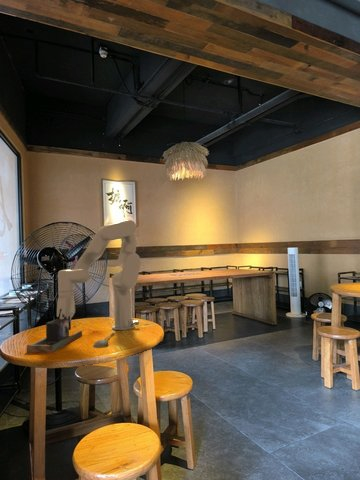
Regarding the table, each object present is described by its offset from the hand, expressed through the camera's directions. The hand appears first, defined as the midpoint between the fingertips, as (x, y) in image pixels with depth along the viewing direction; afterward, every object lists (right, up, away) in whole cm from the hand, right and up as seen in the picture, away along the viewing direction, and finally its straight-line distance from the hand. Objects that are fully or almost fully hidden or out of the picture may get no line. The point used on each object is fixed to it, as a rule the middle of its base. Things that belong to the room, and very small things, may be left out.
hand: (67, 330), depth 163 cm
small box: (-1, -4, -9) cm, 9 cm away
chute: (-1, -4, -9) cm, 10 cm away
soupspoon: (+22, -3, -9) cm, 24 cm away
